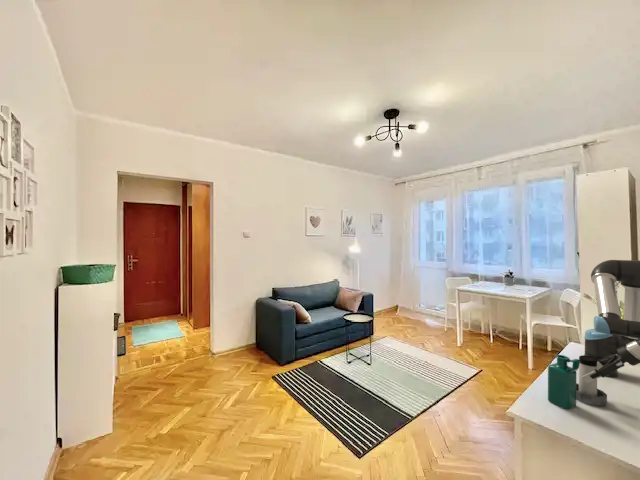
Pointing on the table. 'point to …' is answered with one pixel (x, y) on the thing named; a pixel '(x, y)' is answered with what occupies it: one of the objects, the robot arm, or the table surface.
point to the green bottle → (562, 382)
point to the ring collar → (592, 398)
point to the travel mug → (585, 368)
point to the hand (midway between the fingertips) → (586, 375)
